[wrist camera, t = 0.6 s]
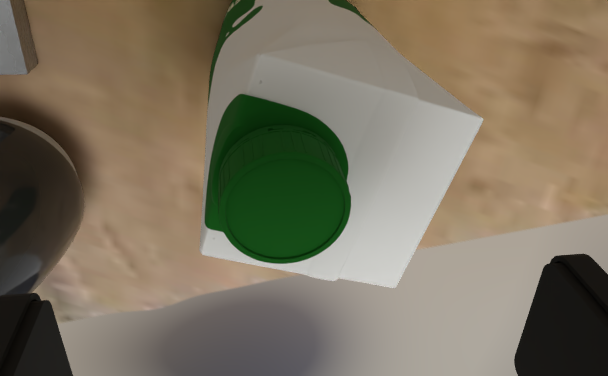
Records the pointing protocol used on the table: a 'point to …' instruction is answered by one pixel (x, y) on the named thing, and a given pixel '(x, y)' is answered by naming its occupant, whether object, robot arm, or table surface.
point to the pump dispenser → (34, 206)
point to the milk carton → (323, 144)
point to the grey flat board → (15, 39)
